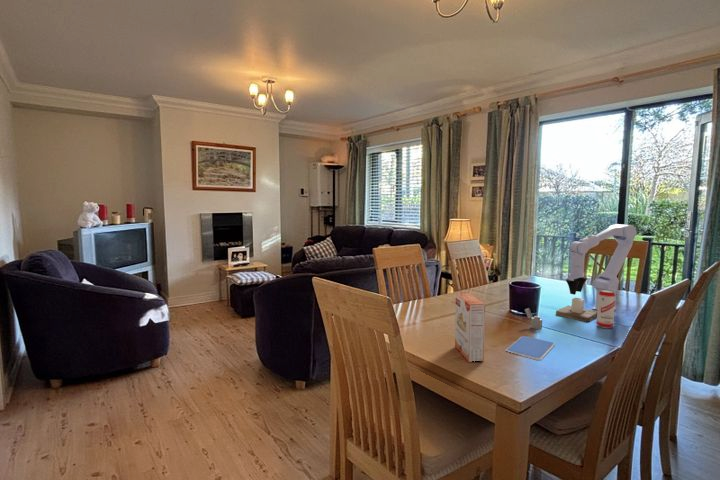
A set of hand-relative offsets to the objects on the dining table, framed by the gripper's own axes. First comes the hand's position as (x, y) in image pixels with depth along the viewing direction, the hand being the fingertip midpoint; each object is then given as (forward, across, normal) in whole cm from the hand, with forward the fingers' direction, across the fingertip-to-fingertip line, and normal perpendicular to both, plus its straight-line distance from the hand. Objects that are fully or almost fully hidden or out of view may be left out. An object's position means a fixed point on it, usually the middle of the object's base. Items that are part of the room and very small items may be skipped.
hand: (575, 292), depth 186 cm
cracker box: (+9, +85, -6) cm, 86 cm away
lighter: (+9, +39, -3) cm, 40 cm away
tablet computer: (+10, +62, +7) cm, 63 cm away
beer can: (+10, +14, +17) cm, 24 cm away
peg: (+9, +6, +3) cm, 12 cm away
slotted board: (+9, +6, +3) cm, 12 cm away
